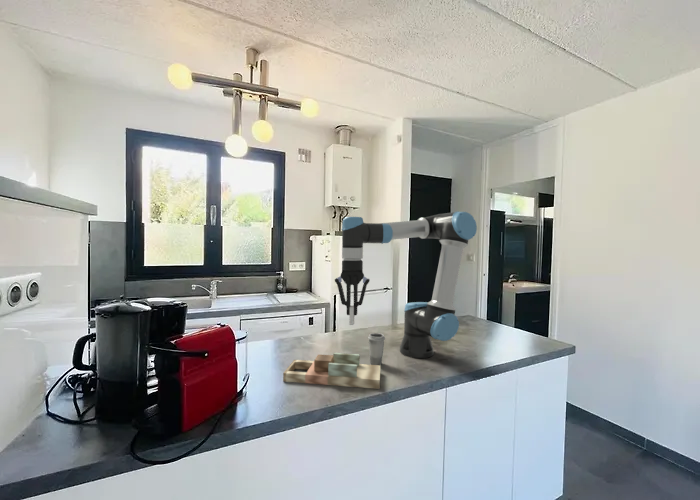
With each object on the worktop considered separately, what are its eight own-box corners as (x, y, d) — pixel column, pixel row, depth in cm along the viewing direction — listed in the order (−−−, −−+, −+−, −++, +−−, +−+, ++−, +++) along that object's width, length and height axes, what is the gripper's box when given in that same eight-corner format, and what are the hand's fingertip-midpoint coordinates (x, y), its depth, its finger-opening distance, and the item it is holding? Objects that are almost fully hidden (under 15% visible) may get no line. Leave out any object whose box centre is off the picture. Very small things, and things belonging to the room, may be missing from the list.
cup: (382, 360, 132) (382, 332, 132) (386, 366, 125) (387, 337, 125) (365, 361, 131) (366, 332, 130) (369, 367, 124) (370, 337, 124)
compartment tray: (380, 373, 119) (380, 355, 119) (379, 388, 106) (379, 368, 106) (294, 366, 123) (294, 349, 123) (283, 381, 110) (283, 361, 110)
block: (333, 365, 117) (333, 355, 117) (330, 372, 111) (330, 361, 111) (317, 364, 118) (318, 354, 118) (314, 371, 112) (314, 360, 112)
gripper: (370, 259, 116) (370, 322, 116) (336, 258, 117) (336, 320, 118) (369, 260, 108) (369, 327, 109) (332, 259, 110) (332, 326, 110)
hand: (351, 323), depth 113 cm, fingers closed
